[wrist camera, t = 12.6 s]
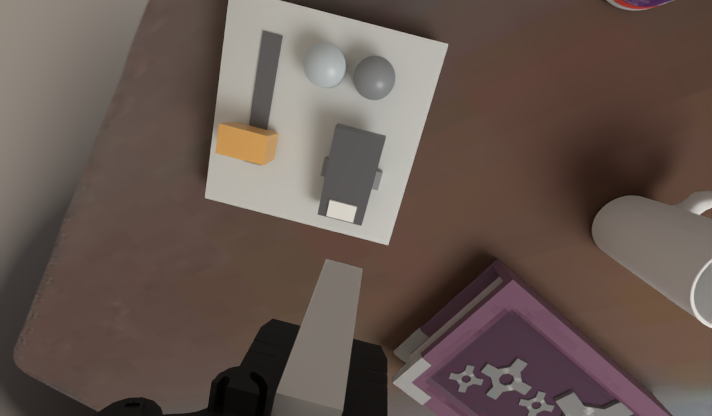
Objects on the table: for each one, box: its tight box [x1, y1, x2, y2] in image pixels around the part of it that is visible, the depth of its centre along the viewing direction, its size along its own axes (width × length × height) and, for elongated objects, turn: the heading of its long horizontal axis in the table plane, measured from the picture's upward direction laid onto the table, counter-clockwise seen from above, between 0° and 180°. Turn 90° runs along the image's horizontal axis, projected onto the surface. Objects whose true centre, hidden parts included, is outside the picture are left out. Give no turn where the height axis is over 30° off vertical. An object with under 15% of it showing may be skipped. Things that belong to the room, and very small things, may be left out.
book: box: [392, 259, 672, 416], centre depth 38 cm, size 25×16×5 cm, turn 50°
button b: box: [303, 42, 347, 88], centre depth 28 cm, size 3×3×2 cm
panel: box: [205, 0, 448, 245], centre depth 31 cm, size 18×18×4 cm
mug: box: [592, 191, 712, 328], centre depth 28 cm, size 10×7×12 cm, turn 138°
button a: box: [354, 56, 395, 100], centre depth 28 cm, size 3×3×2 cm
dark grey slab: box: [317, 123, 386, 226], centre depth 29 cm, size 8×4×1 cm, turn 166°
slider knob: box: [215, 122, 279, 165], centre depth 29 cm, size 2×4×3 cm, turn 76°
